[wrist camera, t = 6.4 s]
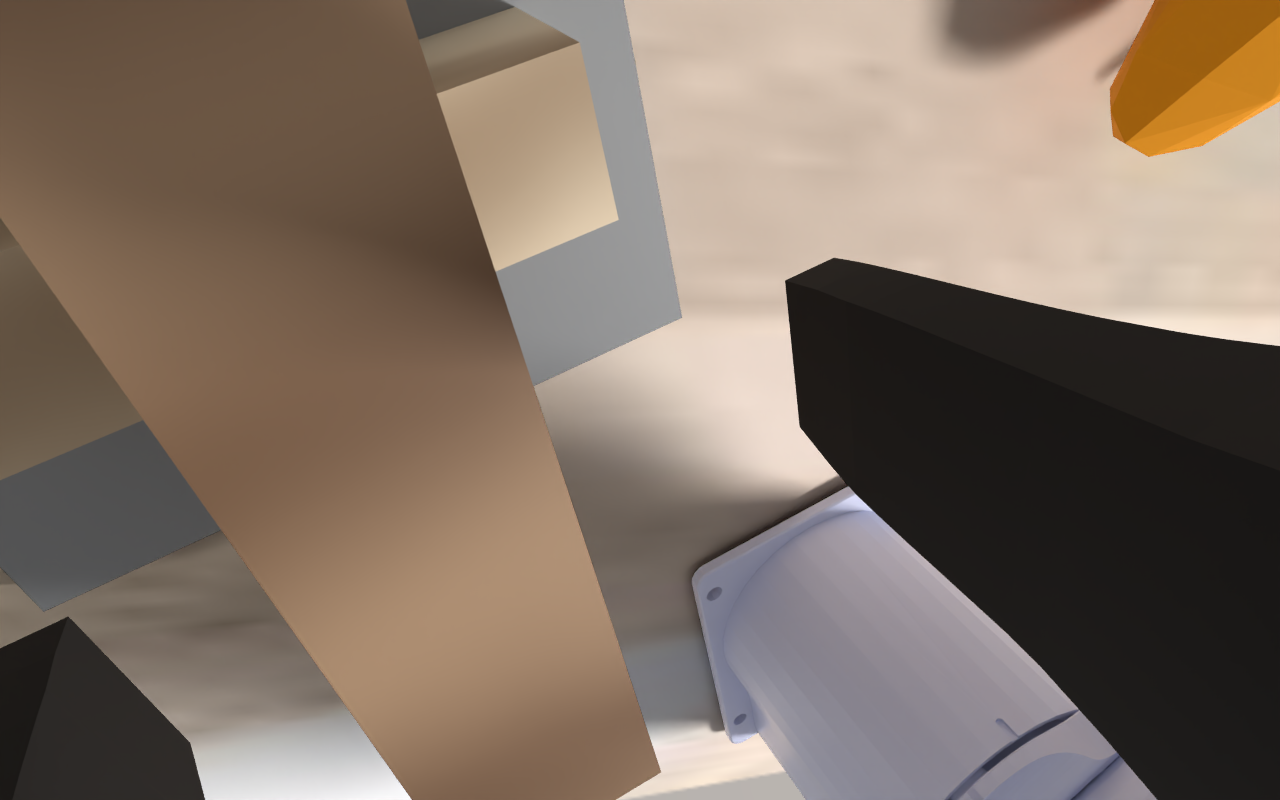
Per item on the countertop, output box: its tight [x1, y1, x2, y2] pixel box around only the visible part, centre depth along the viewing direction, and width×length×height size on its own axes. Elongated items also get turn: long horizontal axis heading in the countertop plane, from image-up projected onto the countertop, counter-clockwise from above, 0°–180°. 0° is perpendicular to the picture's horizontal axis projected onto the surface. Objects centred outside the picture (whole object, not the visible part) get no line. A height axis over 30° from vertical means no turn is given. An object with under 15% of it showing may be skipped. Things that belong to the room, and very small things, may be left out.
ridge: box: [0, 7, 619, 480], centre depth 15 cm, size 3×10×4 cm, turn 100°
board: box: [0, 0, 682, 612], centre depth 16 cm, size 12×14×1 cm
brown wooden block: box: [0, 0, 661, 800], centre depth 11 cm, size 18×4×5 cm, turn 10°
